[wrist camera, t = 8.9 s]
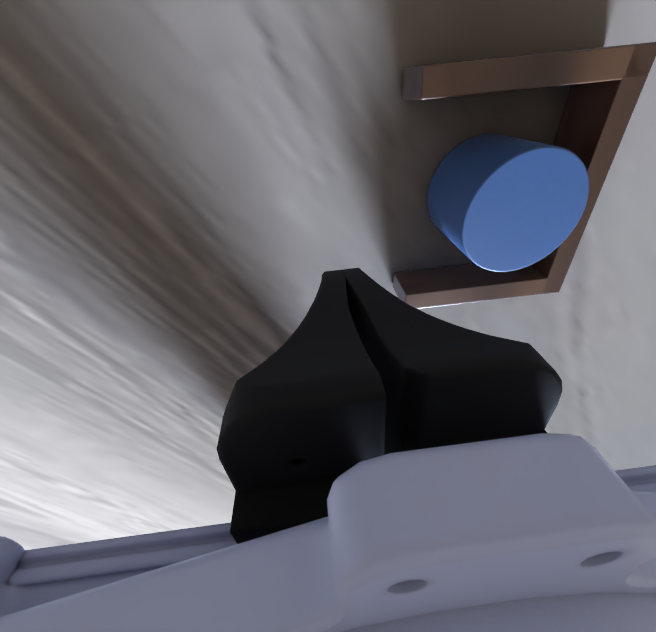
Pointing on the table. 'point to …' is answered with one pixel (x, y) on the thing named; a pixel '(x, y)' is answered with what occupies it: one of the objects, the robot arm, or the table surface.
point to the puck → (507, 199)
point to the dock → (574, 134)
